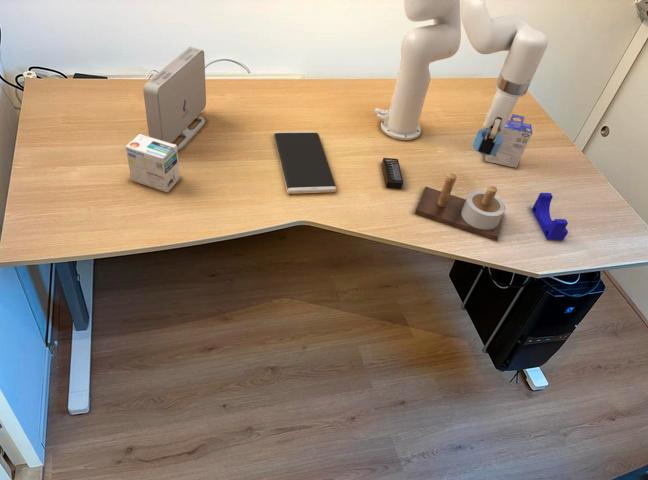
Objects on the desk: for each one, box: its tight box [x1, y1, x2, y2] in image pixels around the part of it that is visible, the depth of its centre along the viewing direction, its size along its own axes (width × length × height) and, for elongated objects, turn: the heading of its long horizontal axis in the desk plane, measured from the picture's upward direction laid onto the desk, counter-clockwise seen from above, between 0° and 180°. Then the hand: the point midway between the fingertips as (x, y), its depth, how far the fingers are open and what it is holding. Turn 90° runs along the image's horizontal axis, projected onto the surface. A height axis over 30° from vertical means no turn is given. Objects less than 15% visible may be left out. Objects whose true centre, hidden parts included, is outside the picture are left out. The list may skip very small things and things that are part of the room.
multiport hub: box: [381, 157, 404, 190], centre depth 154 cm, size 4×11×2 cm, turn 2°
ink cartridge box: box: [484, 113, 533, 169], centre depth 161 cm, size 10×6×14 cm, turn 78°
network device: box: [142, 46, 207, 151], centre depth 150 cm, size 26×9×20 cm, turn 161°
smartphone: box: [273, 131, 337, 195], centre depth 153 cm, size 13×27×2 cm, turn 11°
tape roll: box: [471, 128, 503, 156], centre depth 145 cm, size 7×7×4 cm
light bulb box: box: [125, 133, 181, 193], centre depth 138 cm, size 11×7×11 cm, turn 71°
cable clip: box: [531, 192, 569, 241], centre depth 146 cm, size 12×4×6 cm, turn 5°
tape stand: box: [414, 172, 506, 241], centre depth 142 cm, size 22×11×11 cm, turn 69°
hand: (486, 144), depth 145 cm, fingers closed on tape roll, 6 cm apart
